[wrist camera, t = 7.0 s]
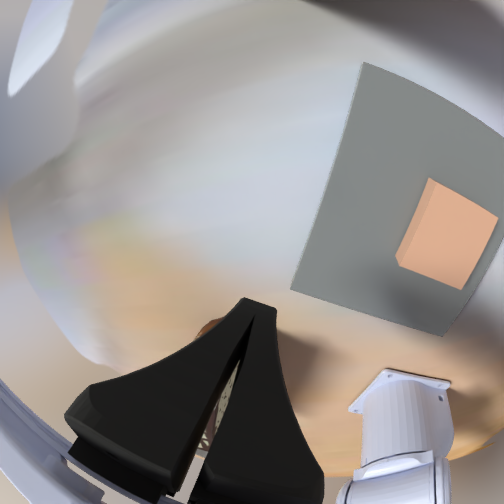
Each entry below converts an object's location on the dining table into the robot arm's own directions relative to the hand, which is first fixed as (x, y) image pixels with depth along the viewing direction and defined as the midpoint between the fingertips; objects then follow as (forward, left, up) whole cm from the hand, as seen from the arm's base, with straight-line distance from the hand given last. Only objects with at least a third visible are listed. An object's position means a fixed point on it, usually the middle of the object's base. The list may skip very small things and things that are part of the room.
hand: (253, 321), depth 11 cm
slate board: (-9, -4, -10) cm, 14 cm away
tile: (-7, -4, -8) cm, 11 cm away
